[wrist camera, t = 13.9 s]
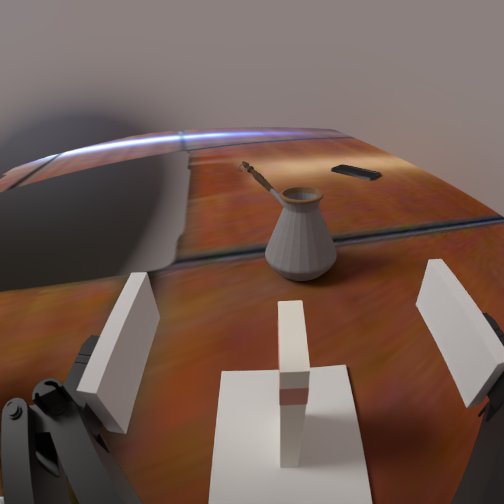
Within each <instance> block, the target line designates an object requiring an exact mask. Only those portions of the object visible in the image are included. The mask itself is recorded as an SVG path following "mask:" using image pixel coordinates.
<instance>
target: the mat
mask: <svg viewBox="0 0 504 504" xmlns="http://www.w3.org/2000/svg"><path fill="white" fill-rule="evenodd" d="M208 504H372V499H371V492H370V486H369V480H368V474H367V468H366V462H365V457H364V451H363V446H362V440H361V435H360V430H359V425H358V420H357V415H356V410H355V406H354V401H353V396H352V392H351V387H350V382H349V378H348V374H347V369H346V365H338V366H328V367H316V368H310V377H309V394H308V402H307V404H306V412H305V420H304V427H303V435H302V442H301V449H300V456H299V462H298V467H280V405H279V370H263V371H222V375H221V384H220V393H219V402H218V412H217V421H216V431H215V441H214V451H213V461H212V471H211V482H210V492H209V503H208Z"/></svg>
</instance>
